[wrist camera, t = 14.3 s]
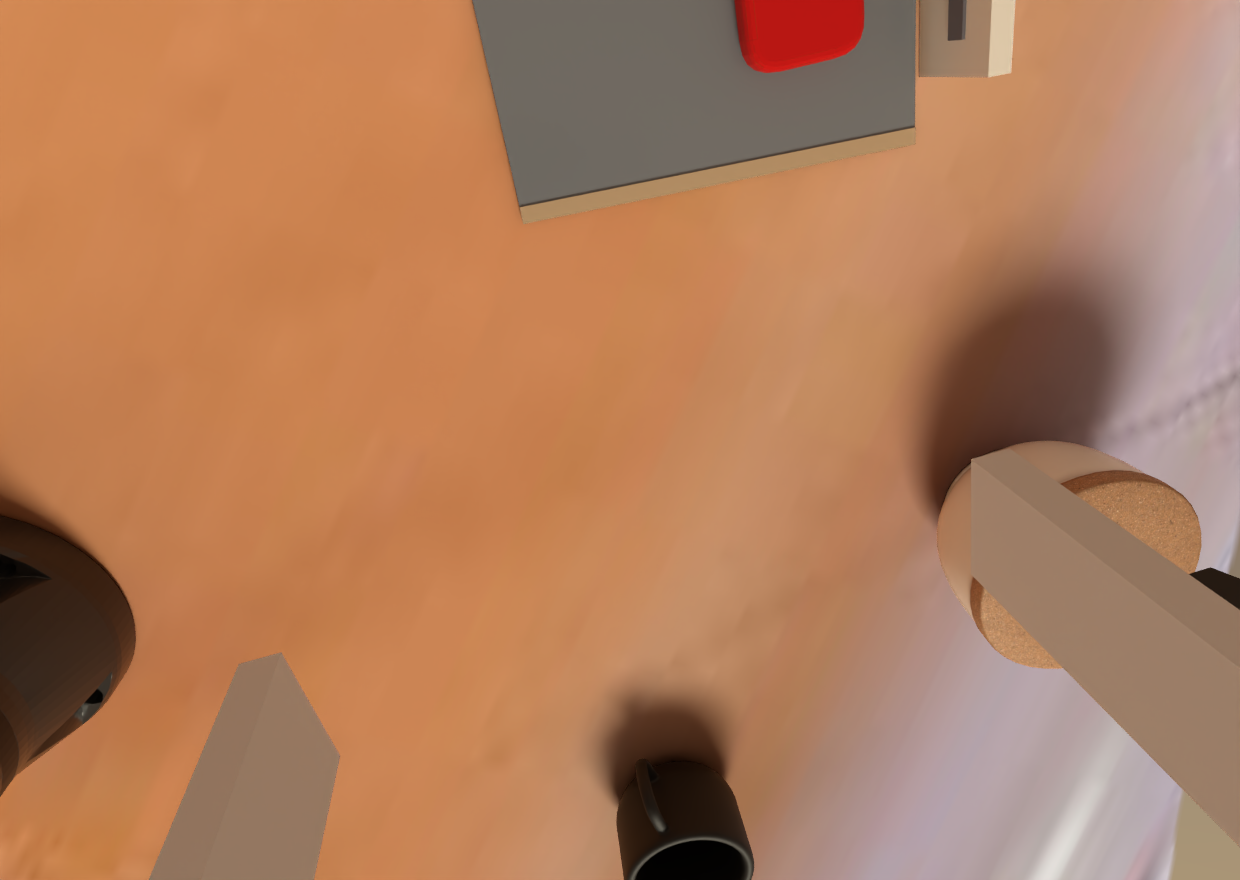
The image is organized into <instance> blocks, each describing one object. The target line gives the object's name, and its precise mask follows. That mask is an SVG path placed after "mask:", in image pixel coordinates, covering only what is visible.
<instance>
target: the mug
mask: <svg viewBox="0 0 1240 880" xmlns="http://www.w3.org/2000/svg"><path fill="white" fill-rule="evenodd" d="M635 769H636V776H637V777H636V778H635V779H634V780H633V781H632V782H631V783H630V785H629V786H628V787H627V788H626V790H625V792H624V793H623V796H622V798H621V801H620V803H619V807H618V811H617V821H616V823H617V832H618V839H619V846H620V853H621V861H622V867H623V875H624V880H751V878H752V876H753V871H754V859H753V854H752V850H751V847H750V844H749V841H748V838H747V835H746V831H745V828H744V825H743V821H742V818H741V815H740V812H739V808H738V805H737V802H736V799H735V796H734V794H733V792H732V790H731V788H730V787H729V785H728V784H727V782H726V781H725V780H724V779H723V778H722V777H721V776H720V775H719V774H718V773H717V772H715V771H714V770H712V769H711V768H709V767H707V766H705V765H702V764H699V763H695V762H684V761H680V762H671V763H665V764H662V765H658V766H656V767H653V766H652V765H651V764H650V763H649V761H648V760H646V759H641V760H639V761H637V762H636V765H635Z"/></svg>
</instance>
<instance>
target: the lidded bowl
mask: <svg viewBox="0 0 1240 880" xmlns="http://www.w3.org/2000/svg"><path fill="white" fill-rule="evenodd" d="M1009 448H1010V449H1011V450H1012V451H1014V452H1015V453H1017V454H1018V455H1020V456H1021V457H1022V458H1024V459H1025V460H1027V461H1028V462H1030V463H1031V464H1032V465H1034V466H1035V467H1037V468H1038V469H1039V470H1041V471H1042V472H1044V473H1045V474H1047V475H1048V476H1049V477H1051V478H1052V479H1054V480H1055V481H1057V482H1058V483H1059V484H1061V485H1062V486H1064V487H1065V488H1067V489H1068V490H1069V491H1071V492H1072V493H1074V494H1075V495H1077V496H1078V497H1079V498H1081V499H1082V500H1084V501H1085V502H1087V503H1088V504H1089V505H1091V506H1092V507H1094V508H1095V509H1096V510H1098V511H1099V512H1101V513H1102V514H1104V515H1105V516H1106V517H1108V518H1109V519H1111V520H1112V521H1114V522H1115V523H1116V524H1118V525H1119V526H1121V527H1122V528H1124V529H1125V530H1126V531H1128V532H1129V533H1131V534H1132V535H1134V536H1135V537H1136V538H1138V539H1139V540H1141V541H1142V542H1144V543H1145V544H1146V545H1148V546H1149V547H1151V548H1152V549H1154V550H1155V551H1156V552H1158V553H1159V554H1161V555H1162V556H1163V557H1165V558H1166V559H1168V560H1169V561H1171V562H1172V563H1173V564H1175V565H1176V566H1178V567H1179V568H1181V569H1182V570H1183V571H1185V572H1186V573H1188V574H1190V573H1194V572H1195V569H1196V566H1197V563H1198V560H1199V555H1200V550H1201V530H1200V525H1199V521H1198V517H1197V515H1196V513H1195V511H1194V509H1193V507H1192V505H1191V504H1190V503H1189V502H1188V500H1187V499H1186V498H1185V497H1184V496H1183V495H1182V494H1180V493H1179V492H1178V491H1176V490H1175V489H1173V488H1172V487H1170V486H1169V485H1167V484H1166V483H1164V482H1162V481H1161V480H1159V479H1156V478H1154V477H1151V476H1149V475H1147V474H1145V473H1143V472H1141V471H1140V470H1138V469H1136V468H1135V467H1133V466H1131V465H1129V464H1128V463H1126V462H1124V461H1122V460H1120V459H1117V458H1115V457H1113V456H1110V455H1108V454H1106V453H1103V452H1101V451H1099V450H1096V449H1093V448H1090V447H1086V446H1083V445H1079V444H1074V443H1069V442H1061V441H1034V442H1026V443H1020V444H1016V445H1012V446H1009V447H1006V448H1004V449H1001V450H997V451H993V452H990V453H988V454H991V453H995V452H998V451H1002V450H1005V449H1009ZM988 454H985V455H988ZM983 456H984V455H983ZM937 548H938V553H939V558H940V562H941V567H942V569H943V571H944V573H945V576H946V578H947V580H948V582H949V585H950V587H951V589H952V590H953V592H954V594H955V595H956V597H957V599H958V600H959V602H960V603H961V604H962V606H963V607H964V608H965V610H966V611H967V612H968V614H969V615H970V616H971V618H972V619H973V620H974V621H975V623H976V625H977V627H978V629H979V630H980V632H981V633H982V634H983V636H984V637H985V638H986V639H987V641H988V642H989V643H990V644H991V646H992V647H993V648H994V649H995V650H996V651H998V652H999V653H1000V654H1001V655H1003V656H1004V657H1006V658H1008V659H1010V660H1012V661H1014V662H1016V663H1019V664H1022V665H1026V666H1029V667H1036V668H1045V669H1046V668H1063V667H1062V666H1061V665H1060V664H1059V663H1058V662H1057V661H1056V660H1055V659H1054V658H1053V657H1052V656H1051V655H1050V654H1049V653H1048V652H1047V651H1046V650H1045V649H1044V648H1043V647H1042V646H1041V645H1040V644H1039V643H1038V642H1037V641H1036V640H1035V639H1034V638H1033V637H1032V636H1031V635H1030V634H1029V633H1028V632H1027V631H1026V630H1025V629H1024V628H1023V627H1022V626H1021V625H1020V624H1019V623H1018V622H1017V621H1016V620H1015V619H1014V617H1013V616H1012V615H1011V614H1010V613H1009V612H1008V611H1007V610H1006V609H1005V608H1004V607H1003V606H1002V605H1001V604H1000V603H999V602H998V601H997V600H996V599H995V598H994V597H993V596H992V595H991V594H990V593H989V592H988V591H987V590H986V589H985V588H984V587H983V586H982V585H981V584H980V583H979V582H978V581H977V580H976V579H975V578H974V577H973V576H972V575H971V463H970V464H969V465H968V466H967V467H966V468H964V469H963V470H962V471H961V472H960V473H959V475H958V476H957V477H956V478H955V480H954V481H953V483H952V484H951V486H950V488H949V490H948V492H947V494H946V497H945V500H944V504H943V506H942V509H941V512H940V515H939V520H938V526H937Z"/></svg>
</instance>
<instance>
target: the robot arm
mask: <svg viewBox="0 0 1240 880" xmlns="http://www.w3.org/2000/svg"><path fill="white" fill-rule="evenodd" d="M971 575H972V576H973V577H974V578H975V579H976V580H977V581H978V582H979V583H980V584H981V585H982V586H983V587H984V588H985V589H986V590H987V591H988V592H989V593H990V594H991V595H992V596H993V597H994V598H995V599H996V600H997V601H998V602H999V603H1000V604H1001V605H1002V606H1003V607H1004V608H1005V609H1006V610H1007V611H1008V612H1009V613H1010V614H1011V615H1012V616H1013V617H1014V619H1015V620H1016V621H1017V622H1018V623H1019V624H1020V625H1021V626H1022V627H1023V628H1024V629H1025V630H1026V631H1027V632H1028V633H1029V634H1030V635H1031V636H1032V637H1033V638H1034V639H1035V640H1036V641H1037V642H1038V643H1039V644H1040V645H1041V646H1042V647H1043V648H1044V649H1045V650H1046V651H1047V652H1048V653H1049V654H1050V655H1051V656H1052V657H1053V658H1054V659H1055V660H1056V661H1057V662H1058V663H1059V664H1060V665H1061V666H1062V667H1063V668H1064V669H1065V670H1066V671H1067V672H1068V673H1069V674H1070V675H1071V676H1072V677H1073V678H1074V679H1075V680H1076V681H1077V682H1078V683H1079V685H1080V686H1081V687H1082V688H1083V689H1084V690H1085V691H1086V692H1087V693H1088V694H1089V695H1090V696H1091V697H1092V698H1093V699H1094V700H1095V701H1096V702H1097V703H1098V704H1099V705H1100V706H1101V707H1102V708H1103V709H1104V710H1105V711H1106V712H1107V713H1108V714H1109V715H1110V716H1111V717H1112V718H1113V719H1114V720H1115V721H1116V722H1117V723H1118V724H1119V725H1120V726H1121V727H1122V728H1123V729H1124V730H1125V731H1126V732H1127V733H1128V734H1129V735H1130V736H1131V737H1132V738H1133V739H1134V740H1135V741H1136V742H1137V743H1138V744H1139V745H1140V746H1141V747H1142V748H1143V749H1144V750H1145V752H1146V753H1147V754H1148V755H1149V756H1150V757H1151V758H1152V759H1153V760H1154V761H1155V762H1156V763H1157V764H1158V765H1159V766H1160V767H1161V768H1162V769H1163V770H1164V771H1165V772H1166V773H1167V774H1168V775H1169V776H1170V777H1171V778H1172V779H1173V780H1174V781H1175V782H1176V783H1177V784H1178V785H1179V786H1180V787H1181V788H1182V789H1183V790H1184V791H1185V792H1186V793H1187V794H1188V795H1189V796H1190V797H1191V798H1192V799H1193V800H1194V801H1195V802H1196V803H1197V804H1198V805H1199V806H1200V807H1201V808H1202V809H1203V810H1204V811H1205V812H1206V813H1207V814H1208V815H1209V816H1210V818H1212V819H1213V821H1214V822H1215V823H1216V824H1217V825H1218V826H1219V827H1220V828H1221V829H1222V830H1223V831H1225V833H1226V834H1227V835H1228V836H1229V837H1230V838H1231V839H1232V840H1233V841H1234V842H1235V843H1236V844H1238V846H1239V847H1240V579H1239V578H1237V577H1234V576H1231V575H1229V574H1226V573H1224V572H1221V571H1218V570H1216V569H1213V568H1207V569H1204V570H1201V571H1197V572H1194V573H1190V574H1188V573H1186V572H1185V571H1183V570H1182V569H1181V568H1179V567H1178V566H1176V565H1175V564H1173V563H1172V562H1171V561H1169V560H1168V559H1166V558H1165V557H1163V556H1162V555H1161V554H1159V553H1158V552H1156V551H1155V550H1154V549H1152V548H1151V547H1149V546H1148V545H1146V544H1145V543H1144V542H1142V541H1141V540H1139V539H1138V538H1136V537H1135V536H1134V535H1132V534H1131V533H1129V532H1128V531H1126V530H1125V529H1124V528H1122V527H1121V526H1119V525H1118V524H1116V523H1115V522H1114V521H1112V520H1111V519H1109V518H1108V517H1106V516H1105V515H1104V514H1102V513H1101V512H1099V511H1098V510H1096V509H1095V508H1094V507H1092V506H1091V505H1089V504H1088V503H1087V502H1085V501H1084V500H1082V499H1081V498H1079V497H1078V496H1077V495H1075V494H1074V493H1072V492H1071V491H1069V490H1068V489H1067V488H1065V487H1064V486H1062V485H1061V484H1059V483H1058V482H1057V481H1055V480H1054V479H1052V478H1051V477H1049V476H1048V475H1047V474H1045V473H1044V472H1042V471H1041V470H1039V469H1038V468H1037V467H1035V466H1034V465H1032V464H1031V463H1030V462H1028V461H1027V460H1025V459H1024V458H1022V457H1021V456H1020V455H1018V454H1017V453H1015V452H1014V451H1012V450H1011V449H1010V448H1009V449H1005V450H1002V451H998V452H995V453H991V454H988V455H984V456H980V457H977V458H973V459H971ZM135 642H136V634H135V625H134V621H133V617H132V614H131V611H130V608H129V606H128V604H127V602H126V600H125V598H124V596H123V594H122V593H121V591H120V590H119V588H118V587H117V586H116V584H115V583H114V582H113V580H112V579H111V578H110V577H109V576H108V575H107V573H106V572H105V571H104V570H103V569H102V568H101V567H100V566H99V565H97V564H96V563H95V562H94V561H93V560H92V559H91V558H89V557H88V556H87V555H85V554H84V553H83V552H81V551H80V550H78V549H77V548H76V547H74V546H73V545H71V544H69V543H68V542H66V541H64V540H63V539H61V538H59V537H57V536H55V535H53V534H51V533H49V532H47V531H44V530H42V529H40V528H37V527H35V526H32V525H30V524H27V523H24V522H21V521H18V520H14V519H11V518H7V517H3V516H0V796H1V795H2V794H3V792H4V791H5V789H6V788H7V786H8V785H9V784H10V782H11V781H12V780H13V778H14V777H15V776H16V775H17V774H19V773H20V772H21V771H22V770H24V769H25V768H26V767H28V766H29V765H30V764H32V763H33V762H34V761H36V760H37V759H38V758H40V757H41V756H42V755H43V754H45V753H46V752H47V751H49V750H50V749H51V748H53V747H54V746H55V745H57V744H58V743H59V742H60V741H62V740H63V739H64V738H66V737H67V736H68V735H70V734H71V733H72V732H74V731H75V730H76V729H77V728H79V727H80V726H81V725H83V724H84V723H85V722H87V721H88V720H89V719H90V718H91V717H93V716H94V715H95V714H96V713H97V712H98V711H99V710H100V709H101V708H102V707H103V705H104V704H105V703H106V702H107V701H108V699H109V698H110V696H111V695H112V693H113V692H114V690H115V689H116V687H117V686H118V684H119V683H120V681H121V680H122V678H123V677H124V675H125V673H126V672H127V670H128V668H129V666H130V664H131V661H132V658H133V655H134V650H135ZM339 759H340V755H339V753H338V751H337V750H336V748H335V746H334V744H333V743H332V741H331V739H330V737H329V735H328V734H327V732H326V730H325V728H324V727H323V725H322V723H321V721H320V720H319V718H318V716H317V714H316V713H315V711H314V709H313V707H312V706H311V704H310V702H309V700H308V699H307V697H306V695H305V693H304V692H303V690H302V688H301V686H300V685H299V683H298V681H297V679H296V678H295V676H294V674H293V672H292V670H291V669H290V667H289V665H288V663H287V662H286V660H285V658H284V656H283V655H282V653H277V654H274V655H270V656H266V657H263V658H259V659H256V660H252V661H249V662H245V663H241V664H239V665H238V667H237V670H236V672H235V675H234V677H233V679H232V682H231V684H230V687H229V689H228V691H227V694H226V696H225V699H224V701H223V703H222V706H221V708H220V711H219V713H218V715H217V718H216V720H215V722H214V725H213V727H212V730H211V732H210V734H209V737H208V739H207V742H206V744H205V746H204V749H203V751H202V754H201V756H200V758H199V761H198V763H197V766H196V768H195V770H194V773H193V775H192V777H191V780H190V782H189V785H188V787H187V789H186V792H185V794H184V797H183V799H182V801H181V804H180V806H179V809H178V811H177V813H176V816H175V818H174V821H173V823H172V825H171V828H170V830H169V832H168V835H167V837H166V840H165V842H164V844H163V847H162V849H161V852H160V854H159V856H158V859H157V861H156V864H155V866H154V868H153V871H152V873H151V876H150V878H149V880H314V877H315V872H316V867H317V863H318V858H319V853H320V849H321V844H322V839H323V834H324V830H325V825H326V820H327V815H328V811H329V806H330V801H331V797H332V792H333V787H334V782H335V778H336V773H337V768H338V764H339Z"/></svg>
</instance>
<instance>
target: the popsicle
mask: <svg viewBox="0 0 1240 880" xmlns="http://www.w3.org/2000/svg"><path fill="white" fill-rule="evenodd" d="M734 1H735V10H736V18H737V27H738V35H739V43H740V48H741V52H742V56H743V58H744V60H745V62H746V63H747V65H748V66H750V67H751V68H752V69H753V70H755V71H759V72H763V73H773V72H781V71H785V70H790V69H794V68H798V67H802V66H806V65H811V64H815V63H819V62H823V61H827V60H832V59H835V58H837V57H840V56H843V55H846V54H847V53H848V52H850V51H851V50H852V49H854V48H855V47H856V45H857V44H858V42H859V41H860V39H861V36H862V32H863V29H864V0H734Z"/></svg>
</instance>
